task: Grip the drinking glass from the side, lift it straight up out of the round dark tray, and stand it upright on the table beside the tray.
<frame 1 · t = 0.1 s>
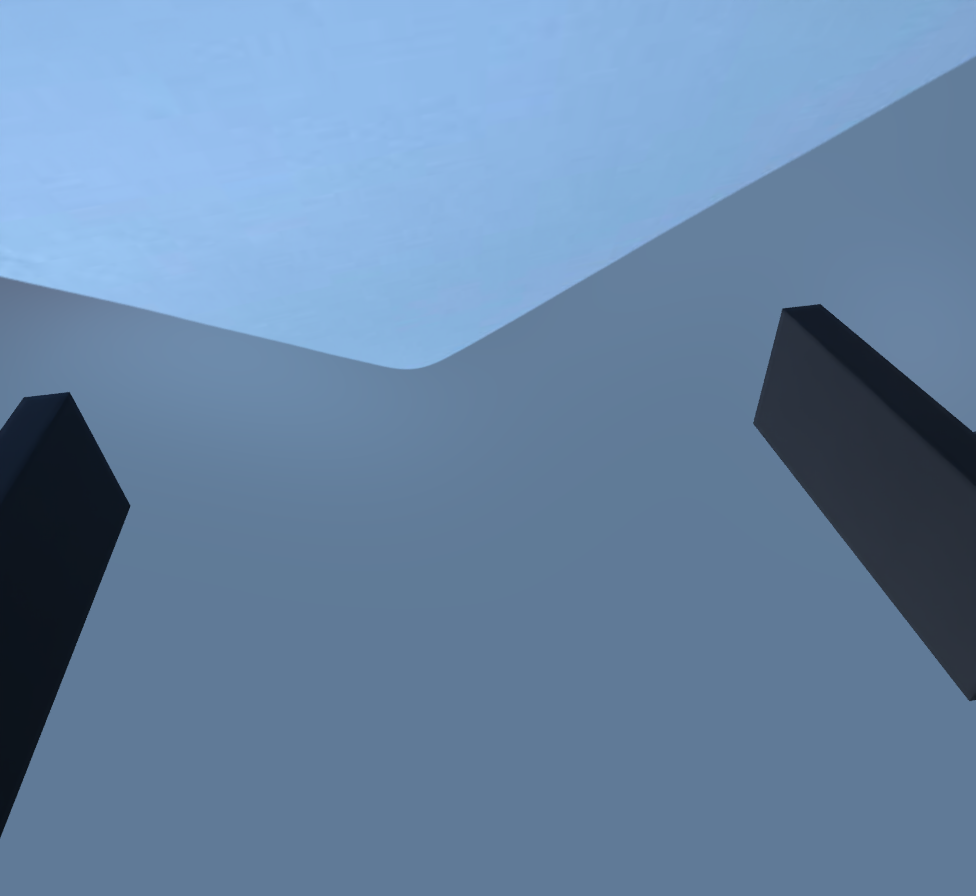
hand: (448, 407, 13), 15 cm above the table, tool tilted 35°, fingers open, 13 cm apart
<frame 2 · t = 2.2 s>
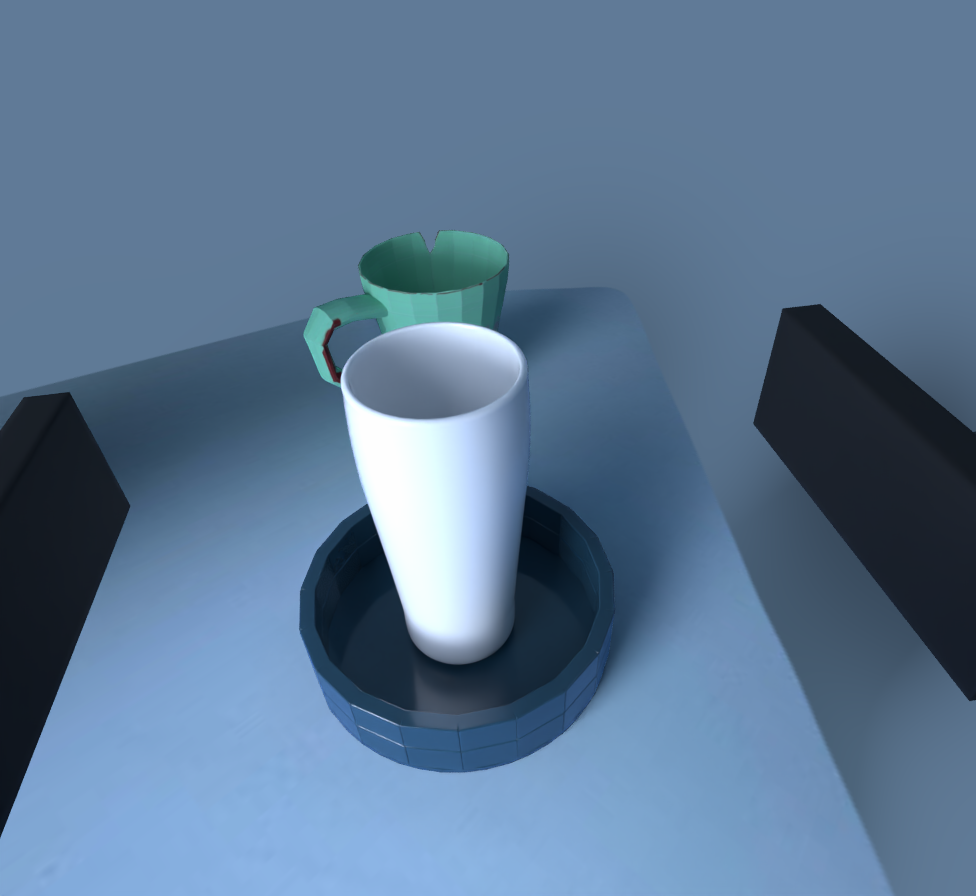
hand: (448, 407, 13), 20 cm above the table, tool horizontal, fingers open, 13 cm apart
mug: (420, 401, 48), on the table
drinking glass: (461, 625, 33), resting on round dark tray
round dark tray: (461, 626, 33), on the table
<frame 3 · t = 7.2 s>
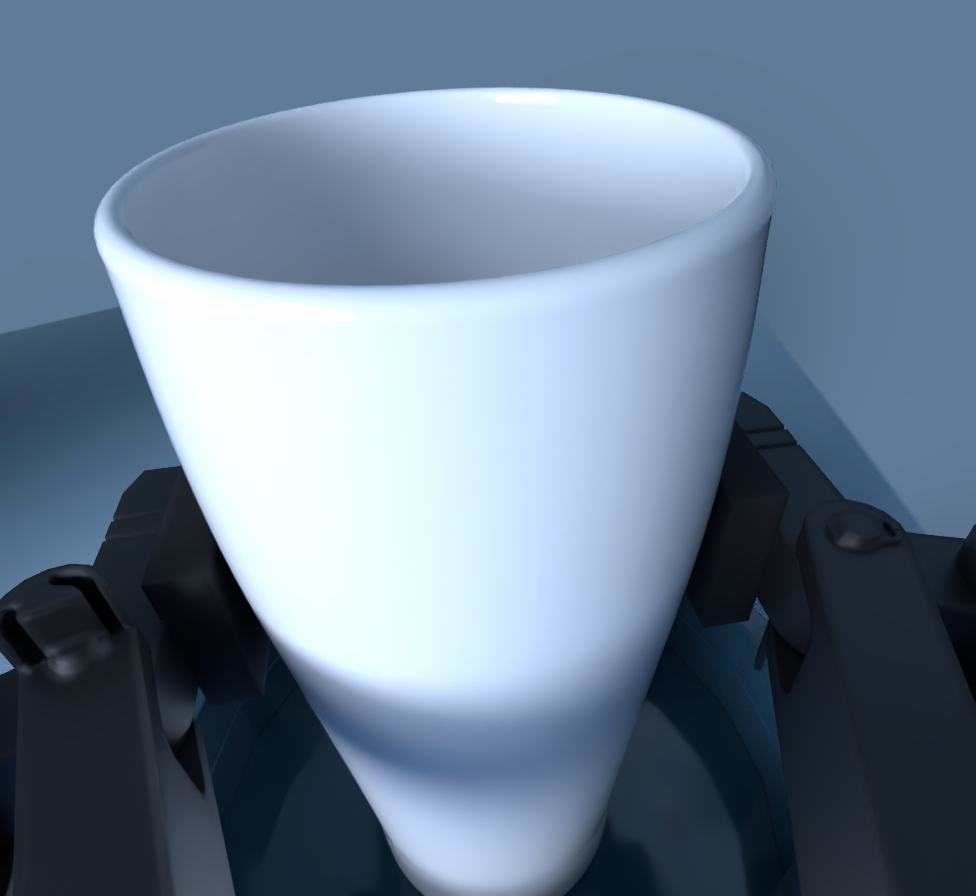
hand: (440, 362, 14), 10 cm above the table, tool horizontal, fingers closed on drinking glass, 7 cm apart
drinking glass: (495, 804, 16), resting on round dark tray, touching gripper
round dark tray: (495, 806, 16), on the table
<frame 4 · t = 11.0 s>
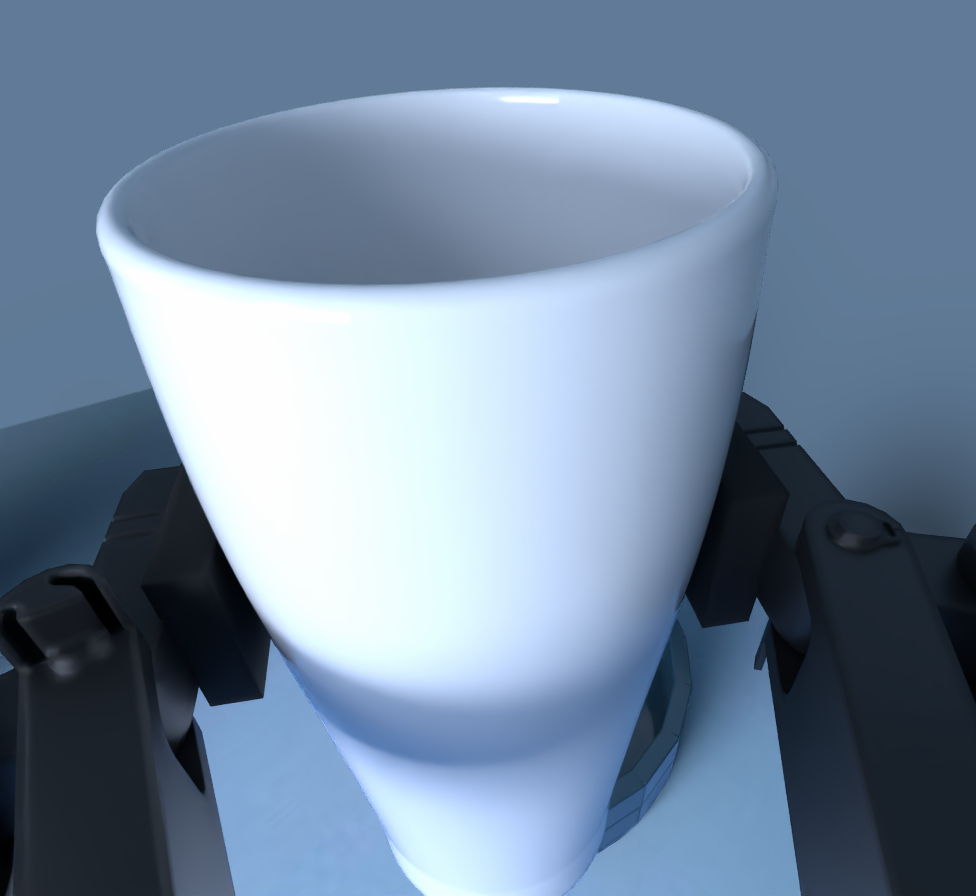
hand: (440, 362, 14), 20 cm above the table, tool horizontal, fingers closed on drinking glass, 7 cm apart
drinking glass: (495, 804, 16), point 10 cm above the table, touching gripper
round dark tray: (513, 693, 30), on the table
when the fingers open (9 cm above the table, at t = 15.2 s): drinking glass stays where it is, on the table.
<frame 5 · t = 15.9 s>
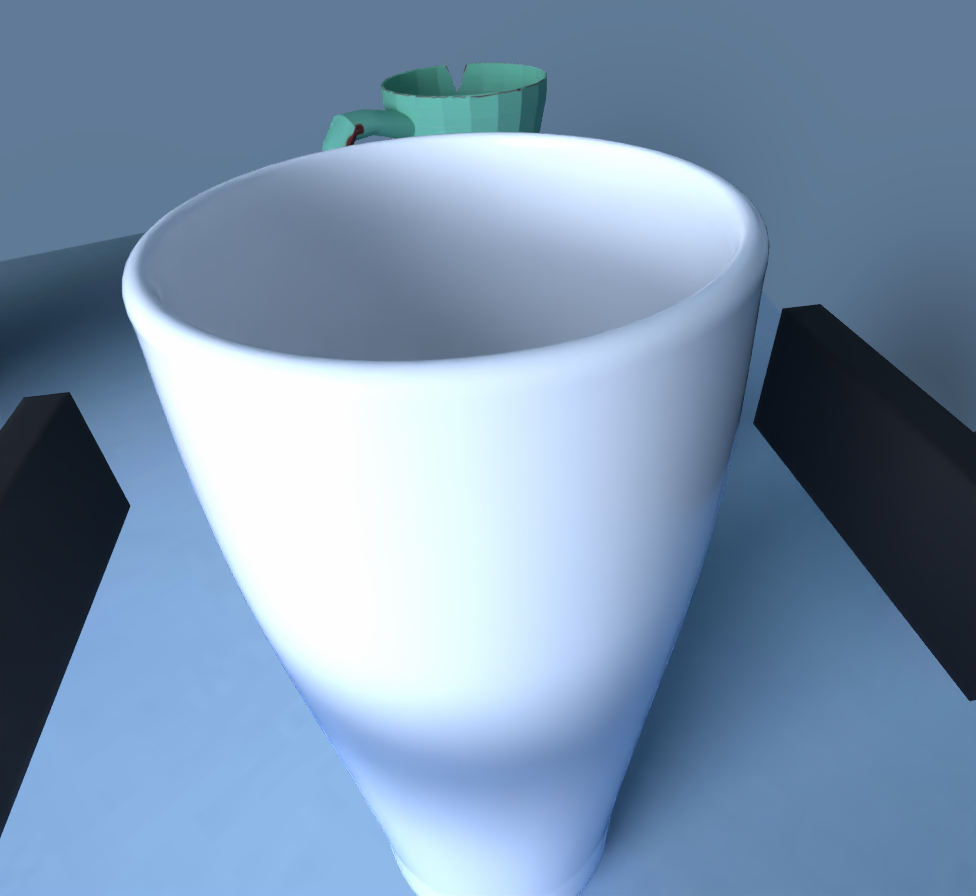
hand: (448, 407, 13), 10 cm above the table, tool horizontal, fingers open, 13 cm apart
mug: (446, 256, 44), on the table
drinking glass: (498, 816, 17), on the table
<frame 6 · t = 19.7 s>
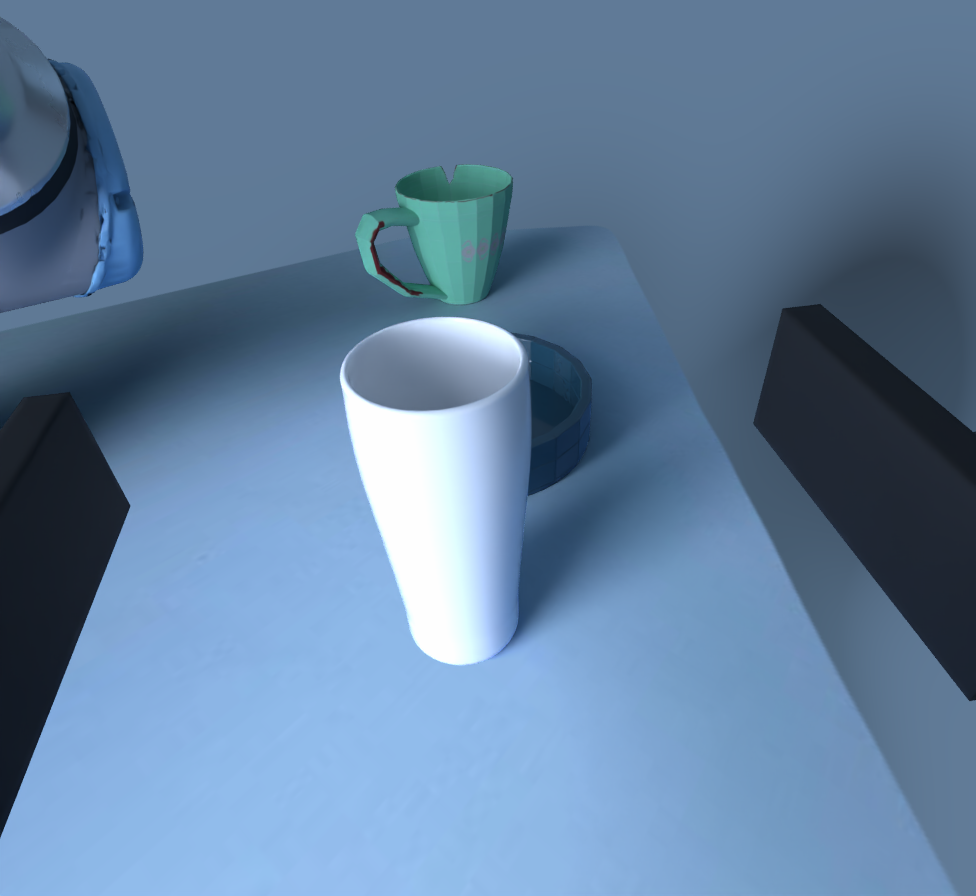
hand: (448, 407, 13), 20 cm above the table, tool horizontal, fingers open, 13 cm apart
mug: (442, 303, 60), on the table
drinking glass: (464, 625, 33), on the table
round dark tray: (481, 430, 45), on the table
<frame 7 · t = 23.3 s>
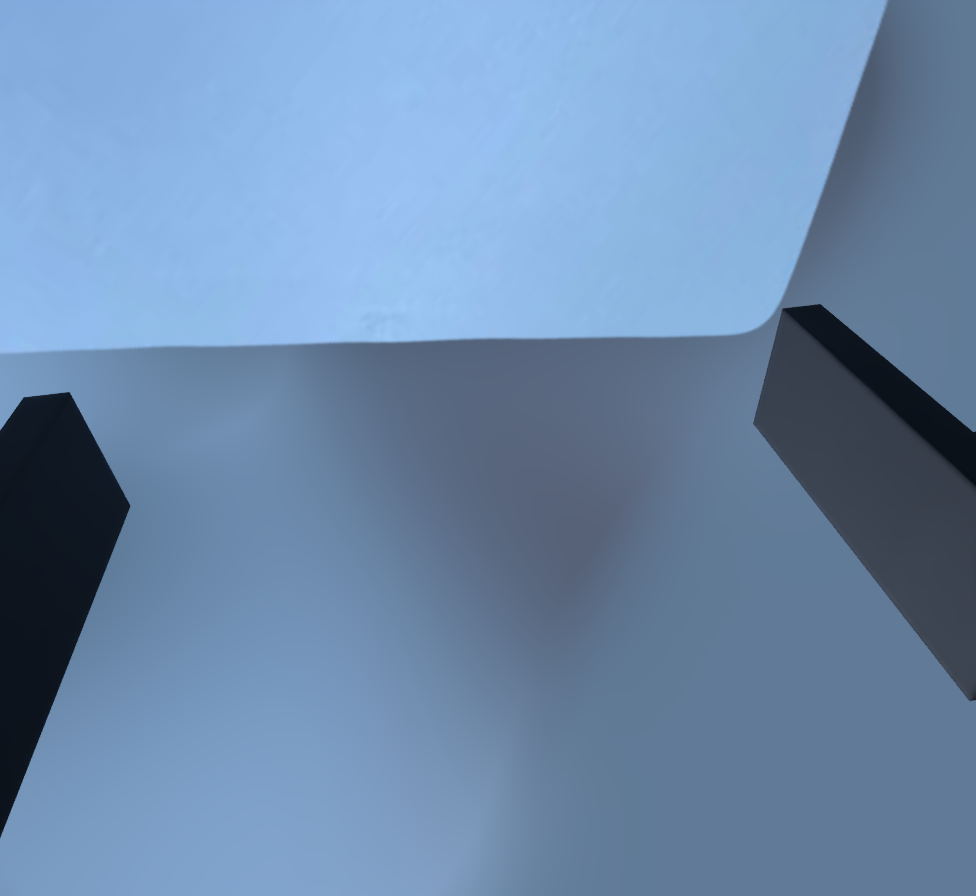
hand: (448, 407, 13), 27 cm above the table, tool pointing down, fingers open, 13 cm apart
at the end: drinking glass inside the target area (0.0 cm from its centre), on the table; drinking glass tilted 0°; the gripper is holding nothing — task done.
